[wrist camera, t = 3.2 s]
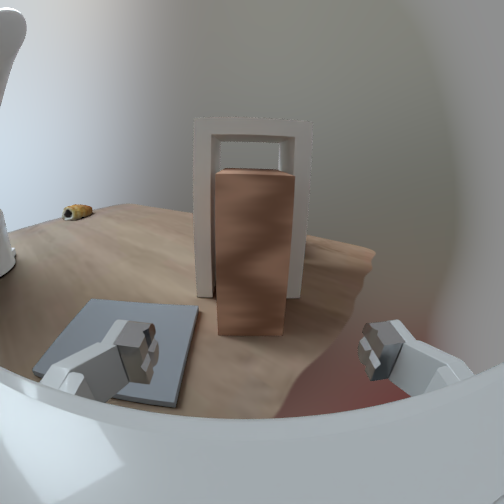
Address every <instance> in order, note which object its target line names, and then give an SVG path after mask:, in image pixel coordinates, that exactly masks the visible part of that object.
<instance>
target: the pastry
mask: <svg viewBox="0 0 504 504" xmlns="http://www.w3.org/2000/svg"><path fill="white" fill-rule="evenodd" d="M91 214H92V207H90V206H86V205H76V204H75V205H72V206H68V207H66V208H64V211H63V214H62V218H63V220H78V219H81V217H86V216H89V215H91Z"/></svg>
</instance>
